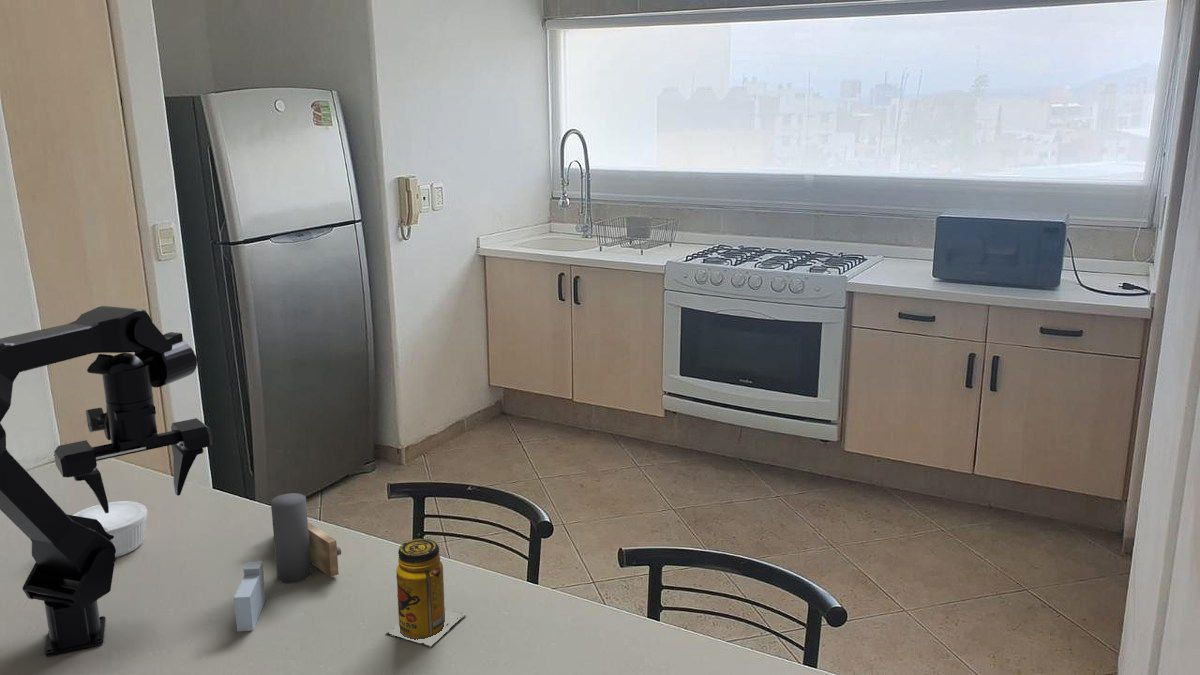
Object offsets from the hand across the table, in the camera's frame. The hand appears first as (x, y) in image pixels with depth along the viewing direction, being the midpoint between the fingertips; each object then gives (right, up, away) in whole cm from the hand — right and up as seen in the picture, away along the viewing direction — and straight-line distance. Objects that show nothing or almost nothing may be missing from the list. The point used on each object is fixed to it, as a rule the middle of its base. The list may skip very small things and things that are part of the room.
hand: (142, 503), depth 125 cm
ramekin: (-13, -10, +15) cm, 22 cm away
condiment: (+41, -16, -5) cm, 44 cm away
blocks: (+15, -12, +6) cm, 20 cm away
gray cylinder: (+19, -12, +7) cm, 23 cm away
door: (+20, -10, +11) cm, 25 cm away
